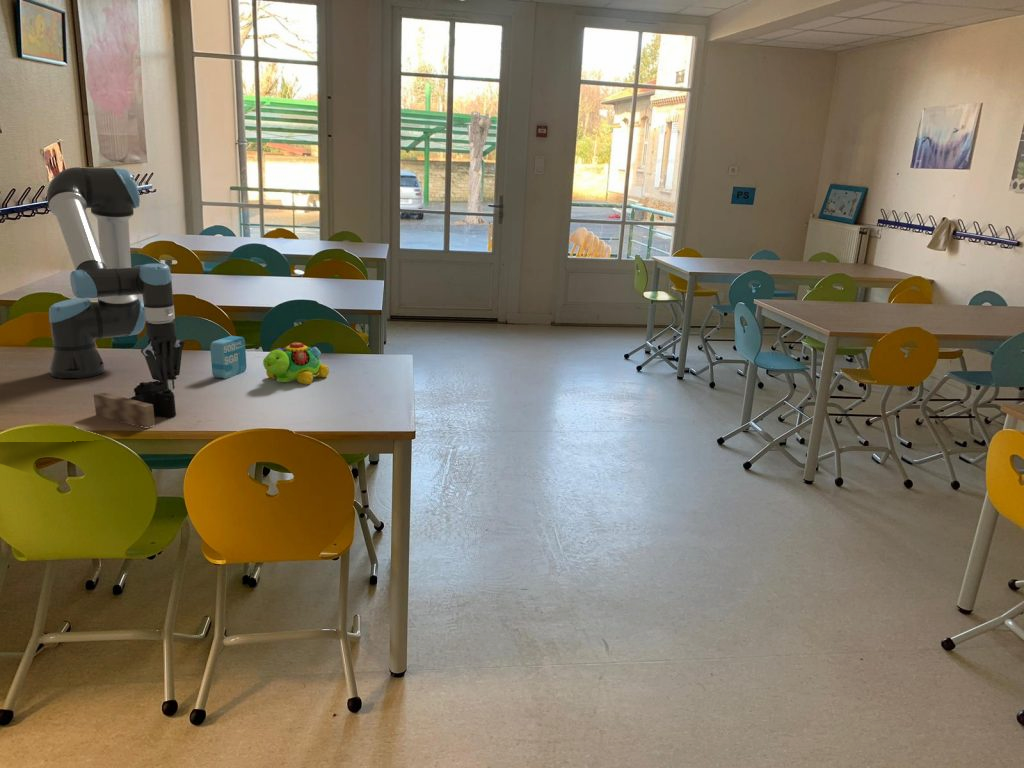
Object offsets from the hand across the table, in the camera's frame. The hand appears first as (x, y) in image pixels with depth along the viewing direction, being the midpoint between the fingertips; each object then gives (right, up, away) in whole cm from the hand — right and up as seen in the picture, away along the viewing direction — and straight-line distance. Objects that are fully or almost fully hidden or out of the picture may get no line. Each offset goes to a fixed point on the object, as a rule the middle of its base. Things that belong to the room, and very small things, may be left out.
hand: (168, 401), depth 213 cm
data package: (+5, +8, +33) cm, 34 cm away
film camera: (-2, -4, -7) cm, 8 cm away
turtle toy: (+27, +6, +31) cm, 41 cm away
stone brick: (-6, -5, -12) cm, 14 cm away
